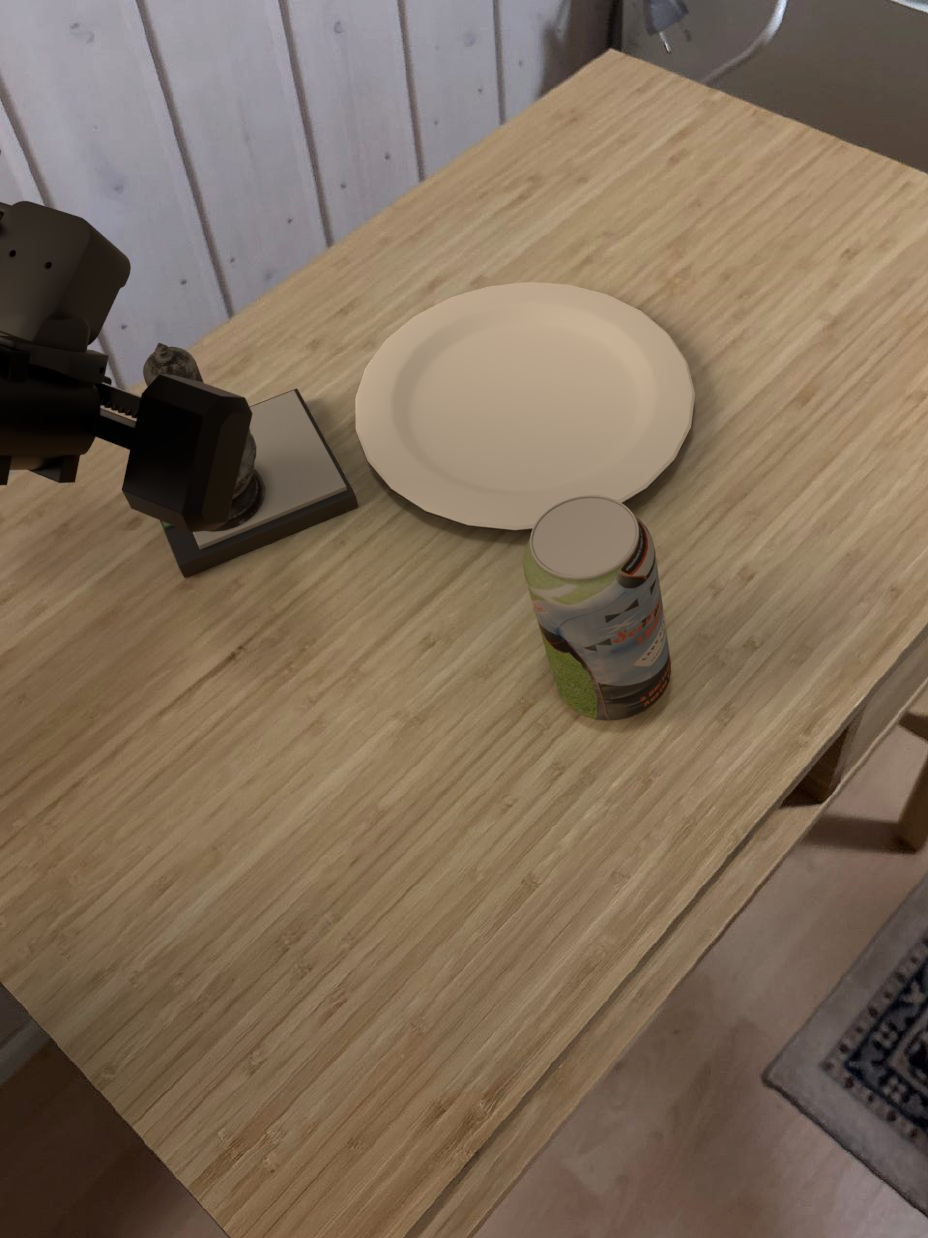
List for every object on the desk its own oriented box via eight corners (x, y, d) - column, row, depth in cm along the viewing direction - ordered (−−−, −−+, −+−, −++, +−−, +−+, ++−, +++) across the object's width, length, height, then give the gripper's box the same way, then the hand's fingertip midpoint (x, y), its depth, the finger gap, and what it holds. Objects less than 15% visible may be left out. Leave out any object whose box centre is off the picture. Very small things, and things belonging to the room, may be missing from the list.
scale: (184, 578, 66) (176, 562, 65) (138, 464, 72) (129, 447, 71) (358, 507, 68) (354, 489, 67) (300, 401, 74) (295, 383, 72)
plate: (761, 457, 68) (765, 437, 66) (445, 599, 64) (442, 582, 63) (587, 260, 79) (587, 239, 77) (308, 372, 75) (303, 352, 74)
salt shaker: (190, 550, 66) (120, 401, 56) (159, 482, 69) (87, 330, 59) (285, 510, 67) (233, 356, 57) (250, 445, 70) (195, 288, 60)
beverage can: (652, 746, 58) (665, 613, 48) (514, 708, 60) (500, 573, 50) (683, 646, 61) (702, 502, 51) (551, 612, 63) (545, 467, 53)
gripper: (160, 259, 42) (363, 307, 56) (-195, 147, 48) (69, 216, 62) (100, 548, 44) (308, 524, 59) (-228, 408, 51) (32, 416, 65)
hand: (175, 412), depth 61 cm, fingers open, 9 cm apart
